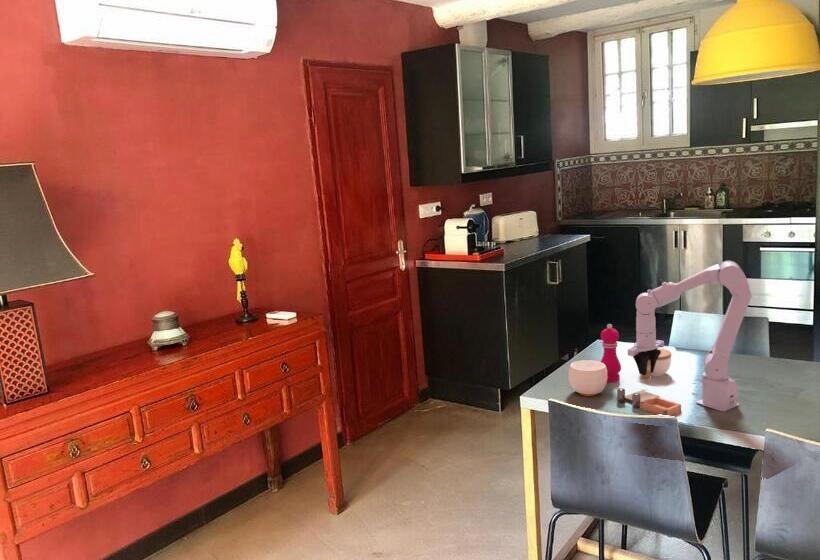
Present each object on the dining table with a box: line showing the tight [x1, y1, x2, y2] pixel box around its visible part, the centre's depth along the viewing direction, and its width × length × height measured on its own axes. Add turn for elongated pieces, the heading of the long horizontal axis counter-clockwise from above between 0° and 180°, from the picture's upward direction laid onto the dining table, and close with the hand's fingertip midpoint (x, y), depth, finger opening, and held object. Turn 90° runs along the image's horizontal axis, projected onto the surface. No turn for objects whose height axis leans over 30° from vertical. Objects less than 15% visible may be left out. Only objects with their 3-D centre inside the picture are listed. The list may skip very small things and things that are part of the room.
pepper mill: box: [600, 323, 622, 384], centre depth 232 cm, size 7×7×20 cm
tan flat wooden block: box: [625, 389, 660, 404], centre depth 215 cm, size 7×9×2 cm
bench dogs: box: [616, 387, 641, 409], centre depth 211 cm, size 8×2×4 cm, turn 32°
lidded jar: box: [651, 347, 672, 377], centre depth 237 cm, size 11×11×9 cm
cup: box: [568, 359, 608, 397], centre depth 222 cm, size 12×12×10 cm
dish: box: [639, 396, 682, 416], centre depth 205 cm, size 9×7×2 cm
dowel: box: [640, 359, 652, 381], centre depth 213 cm, size 3×3×6 cm
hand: (646, 373), depth 213 cm, fingers closed on dowel, 3 cm apart
